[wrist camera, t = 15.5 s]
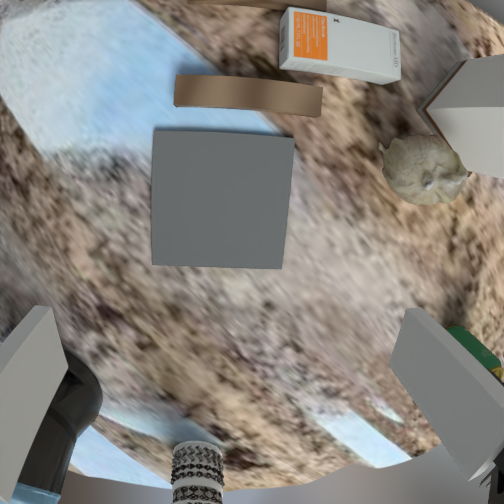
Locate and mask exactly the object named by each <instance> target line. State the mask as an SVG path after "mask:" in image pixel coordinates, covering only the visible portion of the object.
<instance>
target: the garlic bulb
mask: <svg viewBox="0 0 504 504" xmlns="http://www.w3.org/2000/svg"><path fill="white" fill-rule="evenodd" d="M378 148H379V150H381V151H382V152H383V157H384V168H383V169H382V173H383V175H384V177H385V179H386V181H387V183H388V184H389V186H390V187H391V188H392V189H393V191H394V192H395V193H396V194H397V195H398V196H399V197H401V198H402V199H403V200H405V201H406V202H408V203H411V204H415V205H430V204H435V203H438V202H442V203H449V202H451V201H454V200H455V199H456V197H457V196H458V195H459V193H460V192H461V191H462V189H463V186H464V184H465V182H466V180H467V177H468V171H467V169H466V168H465V167H464V166H463V164H462V162H461V159H460V157H459V154H458V153H457V152H455V151H453V150H451V148H450V147H449V146H448V144H447V143H446V142H445V141H444V139H443V138H442V137H441V136H439V135H438V134H433V135H430V136H422V135H413V136H408V137H407V138H405V139H403V140H402V139H398V138H394V139H392V140H391V142H390V147H389V149H385V148H384V147H383V145H382V144H381V143H379V145H378Z"/></svg>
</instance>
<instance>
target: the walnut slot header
mask: <svg viewBox="0 0 504 504" xmlns="http://www.w3.org/2000/svg"><path fill="white" fill-rule="evenodd" d="M326 1H327V0H188V4H222V5H238V6H250V7H259V8H268V9H275V10H282V11H286V10H287V8H288V7H295V8H302V9H309V10H315V11H321V12H326ZM322 91H323V87H317V86H311V85H305V84H299V83H292V82H284V81H276V80H268V79H258V78H247V77H234V76H217V75H176V82H175V92H174V103H173V105H175V106H176V107H205V108H226V109H242V110H254V111H265V112H275V113H284V114H292V115H300V116H307V117H314V118H315V117H319V116H321V105H322Z"/></svg>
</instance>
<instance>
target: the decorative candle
mask: <svg viewBox="0 0 504 504" xmlns="http://www.w3.org/2000/svg"><path fill="white" fill-rule="evenodd" d="M173 454H174V455H173V457H174V458H173V459H172V461H173V462H172V464H173V466H172V468H173V469H174V470H172V474H171V476H172V478H171V480H172V481H171V484H172V485H173V486H172V493H173V503H172V504H222V497H223V486H224V485H225V484H224V482H223V478H224V476H223V475H222V474H223V473H222V471H223V470H224V468H223V465H222V463H223V459H222V452H221V450H220V449H219V448H218V447H217V446H216V445H214V444H211V443H209V442H204V441H186V442H182V443H179V444H178V445H176V446H175V448H174V450H173Z"/></svg>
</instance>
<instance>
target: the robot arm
mask: <svg viewBox="0 0 504 504" xmlns="http://www.w3.org/2000/svg"><path fill="white" fill-rule="evenodd" d="M388 365H389V366H390V368H391V369H392V371H393V372H394V373H395V375H396V376H397V377H398V379H399V380H400V382H401V383H402V385H403V386H404V387H405V389H406V390H407V392H408V393H409V394H410V396H411V397H412V399H413V400H414V402H415V403H416V404H417V406H418V407H419V409H420V410H421V412H422V413H423V415H424V416H425V417H426V419H427V420H428V422H429V423H430V425H431V426H432V428H433V429H434V431H435V432H436V434H437V435H438V437H439V438H440V440H441V441H442V443H443V444H444V446H445V447H446V449H447V450H448V452H449V453H450V455H451V456H452V458H453V459H454V461H455V462H456V464H457V465H458V467H459V469H460V470H461V472H462V473H463V474H464V476H465V478H466V480H467V481H469V480H471V479H473V478H475V477H476V476H478V475H480V474H481V473H483V472H484V471H485V470H486V469H487V468H488V467H489V465H490V464H491V463H492V462H494V463H495V464H496V466H495V467H494V468H493V469H492V471H491V472H490V473H489V474H488V475H487V476H486V477H485V478H484V479H483V480H482V481H481V484H480V486H479V487H483V486H484V484H485V483H487V481H488V480H489V479H491V481H490V482H489V483H488V484H487V486H486V488H490V492H489V500H488V504H504V382H503V383H502V380H501V379H500V378H499V377H498V376H497V375H496V374H495V373H494V372H493V371H491V370H489V369H488V368H486V367H484V366H483V365H482V364H481V363H480V362H479V361H478V360H477V359H476V358H475V357H474V356H473V355H472V354H470V353H469V352H468V351H467V350H466V349H465V348H464V347H463V346H462V345H461V344H460V343H459V342H458V341H457V340H456V339H455V338H454V337H453V336H452V335H451V334H450V333H448V332H447V331H446V330H445V329H444V328H443V327H442V326H441V325H440V324H439V323H438V322H437V321H436V320H434V319H433V318H432V317H431V316H430V315H429V314H428V313H427V312H426V311H425V310H423V309H422V308H421V307H419V308H408V309H406V312H405V315H404V318H403V322H402V325H401V328H400V332H399V335H398V338H397V341H396V344H395V347H394V350H393V353H392V356H391V359H390V361H389V364H388ZM102 400H103V398H102V392H101V388H100V386H99V384H98V382H97V380H96V379H95V377H94V376H93V375H92V373H91V372H90V371H89V370H88V369H87V368H86V367H85V366H84V365H83V364H82V363H81V362H80V361H79V360H78V359H76V358H75V357H74V356H72V355H71V354H69V353H67V352H66V351H64V350H63V348H62V344H61V341H60V337H59V334H58V330H57V326H56V322H55V318H54V314H53V310H52V307H48V306H38V305H35V306H34V307H33V308H32V309H31V311H30V312H29V313H28V314H27V315H26V316H25V317H24V318H23V319H22V321H21V322H20V323H19V324H18V325H17V326H16V328H15V329H14V330H13V331H12V332H11V333H10V335H9V336H8V337H7V338H6V339H5V341H4V342H3V343H2V344H1V345H0V504H57V503H58V500H59V499H60V498H61V490H62V487H63V483H64V480H65V476H66V473H67V469H68V466H69V462H70V459H71V456H72V453H73V449H74V446H75V443H76V441H77V439H78V437H79V436H80V435H81V434H82V433H83V432H84V431H85V430H86V429H87V428H88V426H89V425H90V424H91V423H92V422H93V421H94V420H95V419H96V418H97V416H98V414H99V411H100V408H101V405H102Z"/></svg>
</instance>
